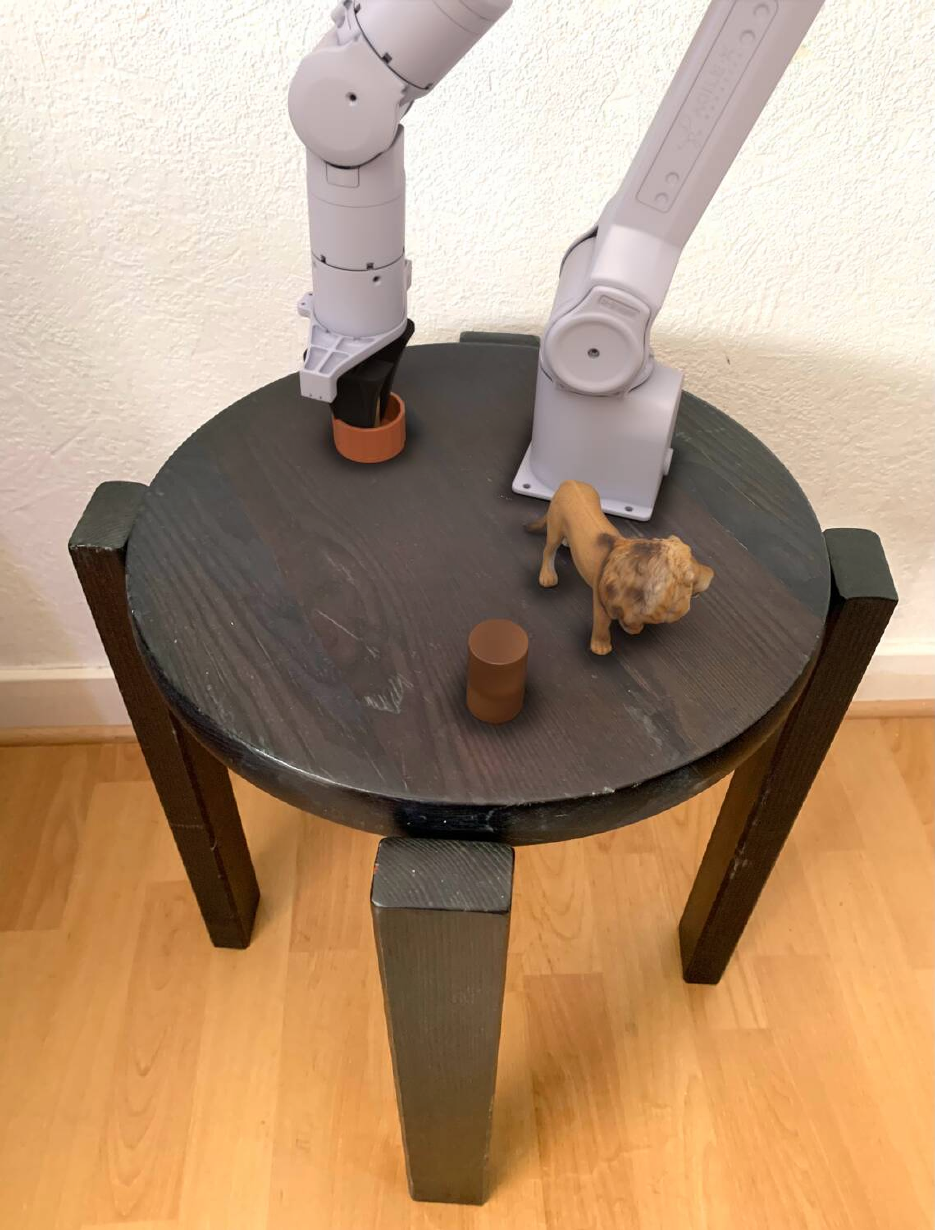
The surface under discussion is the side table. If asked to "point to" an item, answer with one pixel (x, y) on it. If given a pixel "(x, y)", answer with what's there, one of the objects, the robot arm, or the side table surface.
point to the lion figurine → (618, 565)
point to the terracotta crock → (373, 436)
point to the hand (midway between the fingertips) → (362, 426)
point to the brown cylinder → (496, 670)
